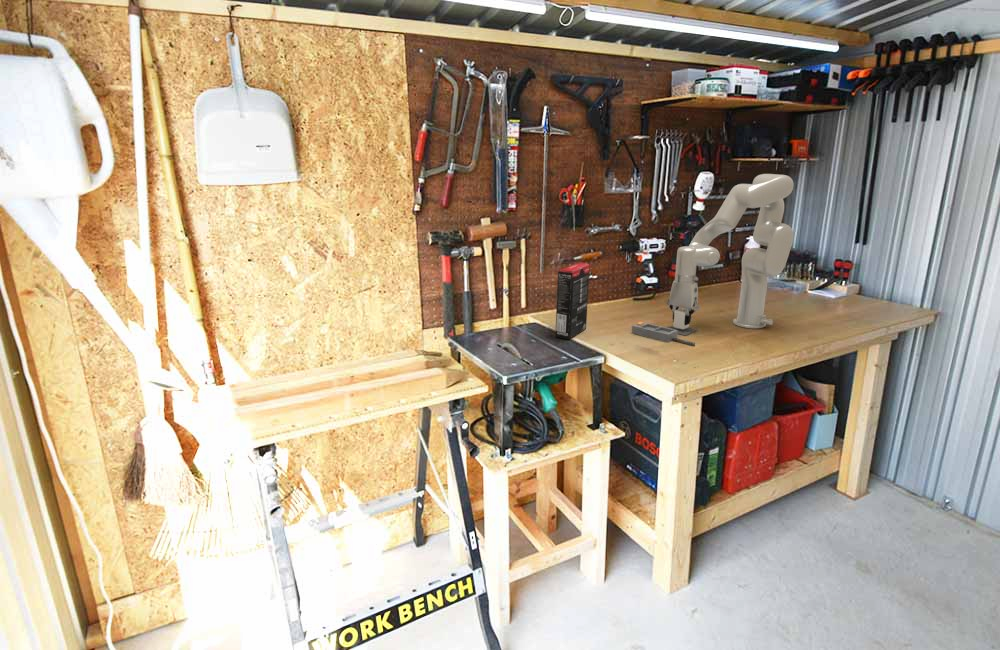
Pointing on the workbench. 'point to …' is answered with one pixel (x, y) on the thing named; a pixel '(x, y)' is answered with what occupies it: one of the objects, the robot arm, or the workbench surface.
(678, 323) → the block
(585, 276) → the graphics card box
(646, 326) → the power strip
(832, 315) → the workbench surface
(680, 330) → the mat
